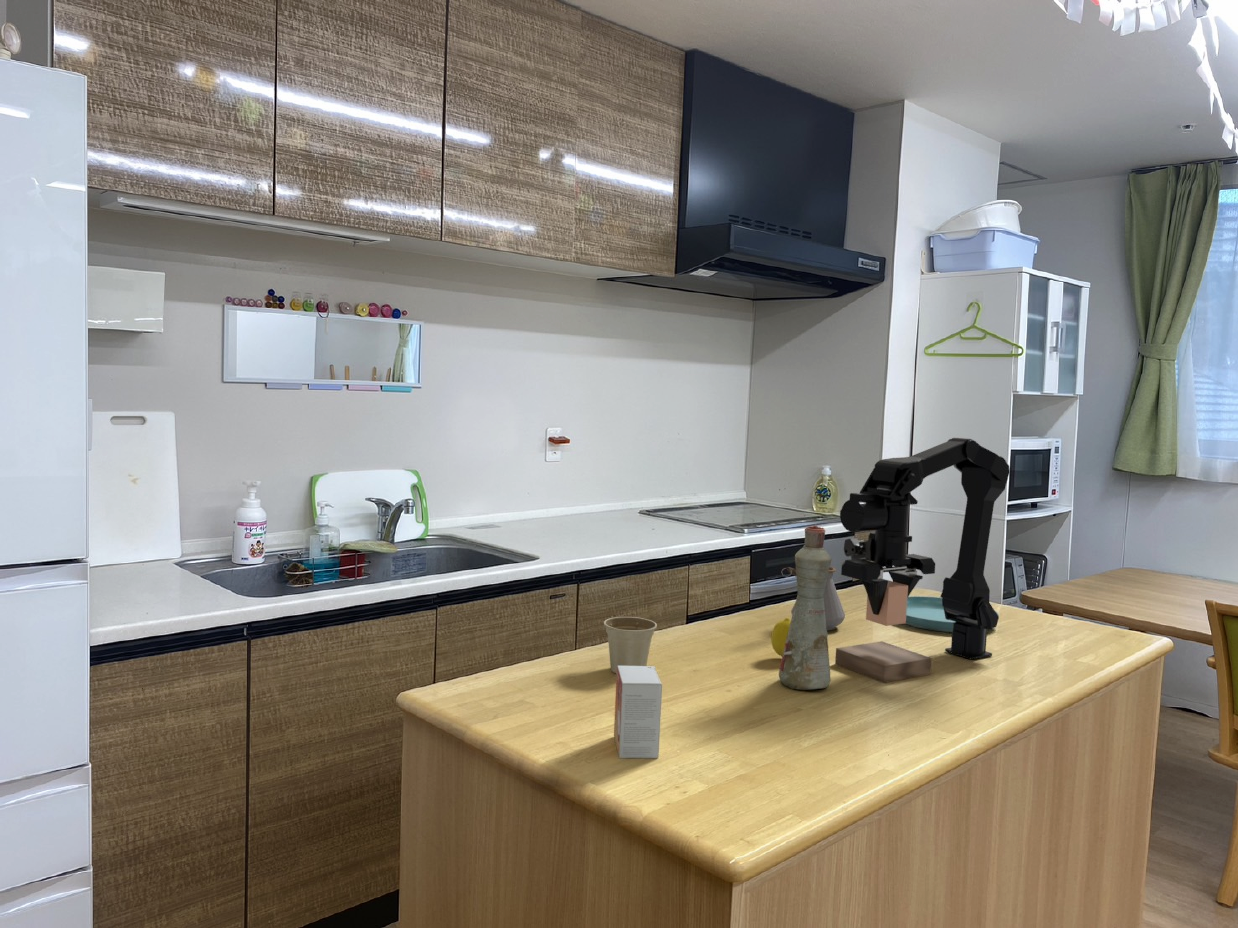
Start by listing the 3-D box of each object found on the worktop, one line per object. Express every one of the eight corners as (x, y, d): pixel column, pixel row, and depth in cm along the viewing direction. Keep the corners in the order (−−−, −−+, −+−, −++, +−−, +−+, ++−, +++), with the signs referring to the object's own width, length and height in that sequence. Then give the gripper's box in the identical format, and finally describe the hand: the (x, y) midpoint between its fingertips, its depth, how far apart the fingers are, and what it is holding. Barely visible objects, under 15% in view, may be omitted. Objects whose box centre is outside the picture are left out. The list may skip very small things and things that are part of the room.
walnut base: (880, 656, 176) (881, 641, 175) (930, 674, 165) (931, 658, 165) (835, 663, 169) (836, 648, 169) (883, 682, 159) (884, 666, 159)
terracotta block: (885, 616, 170) (887, 580, 169) (905, 623, 166) (908, 585, 165) (865, 619, 168) (868, 582, 167) (886, 625, 163) (888, 587, 163)
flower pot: (666, 672, 161) (668, 624, 160) (630, 683, 154) (632, 633, 153) (626, 659, 167) (628, 613, 166) (590, 670, 160) (592, 622, 159)
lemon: (800, 665, 168) (802, 622, 167) (769, 662, 169) (771, 620, 168) (800, 656, 173) (802, 615, 173) (770, 654, 174) (773, 613, 174)
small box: (613, 736, 130) (616, 664, 129) (652, 736, 130) (655, 664, 129) (618, 759, 122) (621, 682, 121) (659, 759, 122) (662, 683, 121)
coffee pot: (806, 616, 205) (809, 551, 204) (853, 626, 198) (857, 558, 197) (757, 633, 189) (761, 562, 188) (807, 645, 182) (811, 571, 180)
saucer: (878, 606, 220) (878, 593, 220) (981, 613, 217) (982, 599, 216) (894, 632, 196) (895, 616, 196) (1011, 640, 193) (1012, 625, 192)
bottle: (799, 696, 150) (808, 529, 148) (768, 679, 159) (776, 521, 156) (841, 690, 154) (850, 527, 152) (808, 674, 162) (817, 519, 160)
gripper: (893, 520, 177) (888, 599, 178) (822, 525, 167) (817, 607, 169) (939, 529, 167) (934, 612, 169) (866, 534, 158) (861, 622, 159)
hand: (886, 612), depth 167 cm, fingers closed on terracotta block, 5 cm apart
